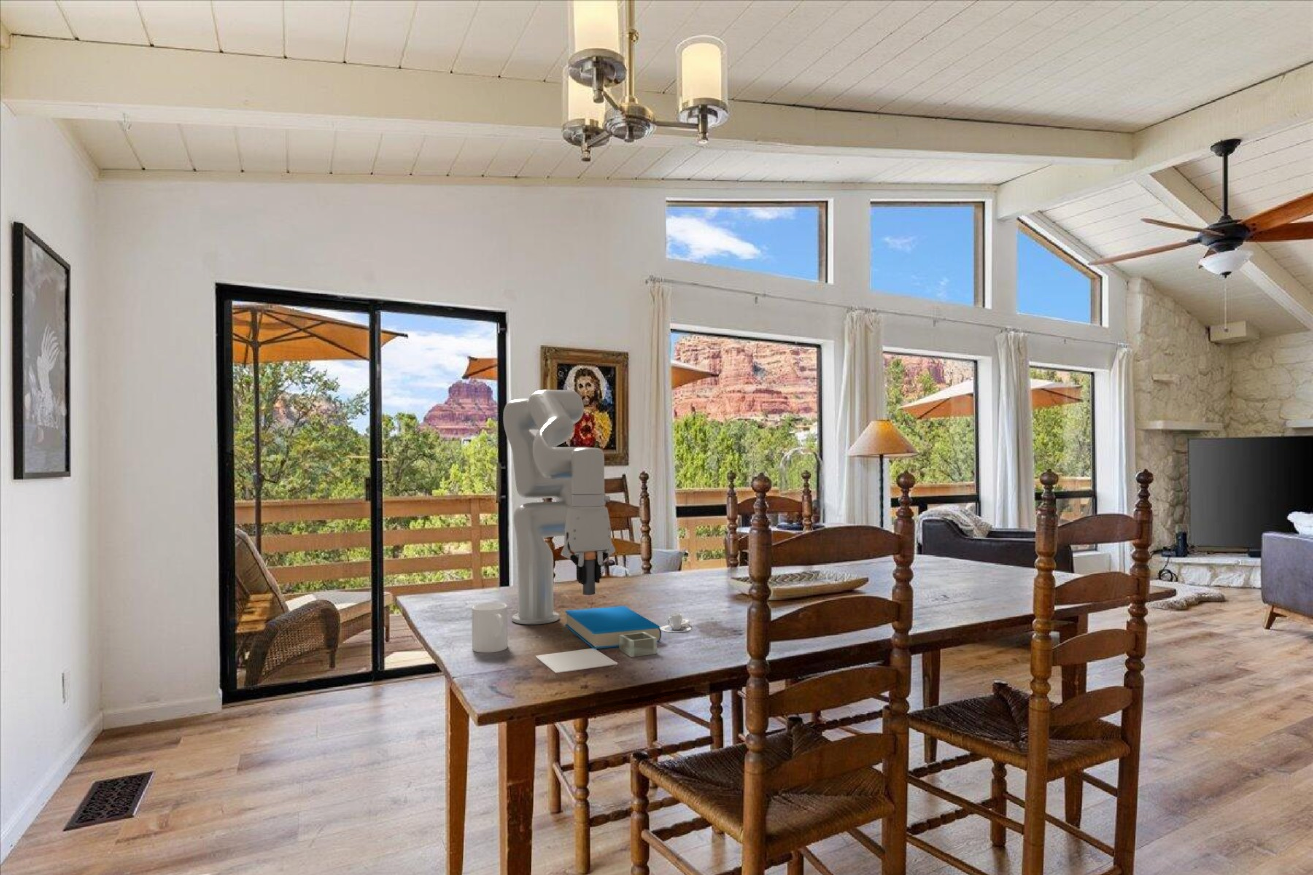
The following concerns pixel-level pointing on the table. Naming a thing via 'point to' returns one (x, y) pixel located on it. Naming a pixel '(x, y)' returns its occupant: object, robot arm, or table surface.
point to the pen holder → (638, 644)
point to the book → (608, 625)
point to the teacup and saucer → (677, 623)
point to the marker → (589, 573)
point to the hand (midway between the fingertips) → (588, 581)
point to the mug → (489, 627)
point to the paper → (575, 660)
